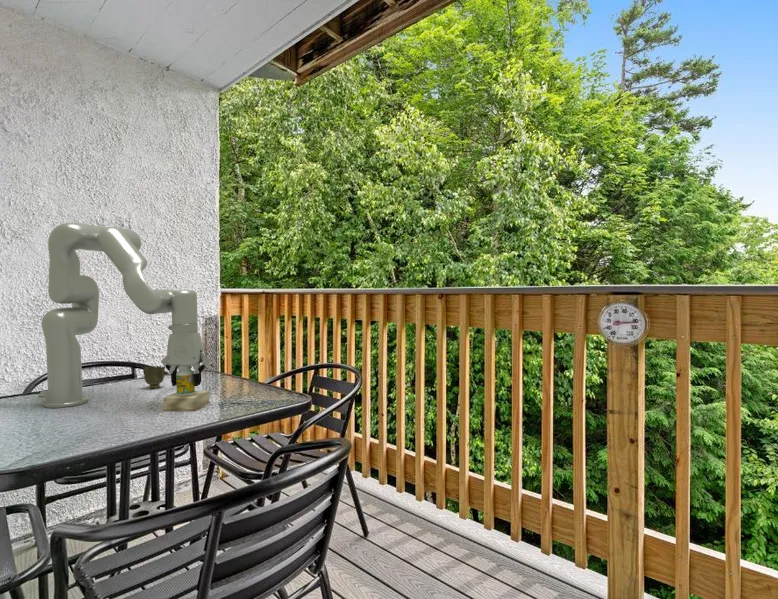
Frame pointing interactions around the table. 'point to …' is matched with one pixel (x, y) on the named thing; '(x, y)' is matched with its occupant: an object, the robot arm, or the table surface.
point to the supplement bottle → (185, 381)
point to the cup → (154, 376)
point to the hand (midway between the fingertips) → (186, 384)
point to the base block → (186, 401)
